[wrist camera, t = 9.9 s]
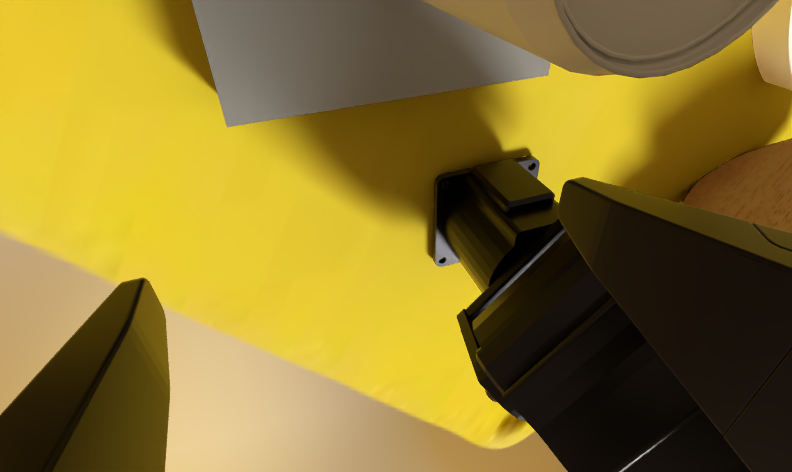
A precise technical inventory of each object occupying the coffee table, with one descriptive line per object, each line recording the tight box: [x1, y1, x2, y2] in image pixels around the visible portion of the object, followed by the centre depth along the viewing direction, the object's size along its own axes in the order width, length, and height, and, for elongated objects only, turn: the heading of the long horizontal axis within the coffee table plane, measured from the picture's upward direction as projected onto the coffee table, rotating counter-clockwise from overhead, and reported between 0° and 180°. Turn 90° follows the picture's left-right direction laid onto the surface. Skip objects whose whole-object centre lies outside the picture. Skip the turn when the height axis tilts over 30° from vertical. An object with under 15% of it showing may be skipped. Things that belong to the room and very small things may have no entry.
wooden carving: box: [682, 138, 792, 233], centre depth 30 cm, size 16×5×10 cm, turn 121°
